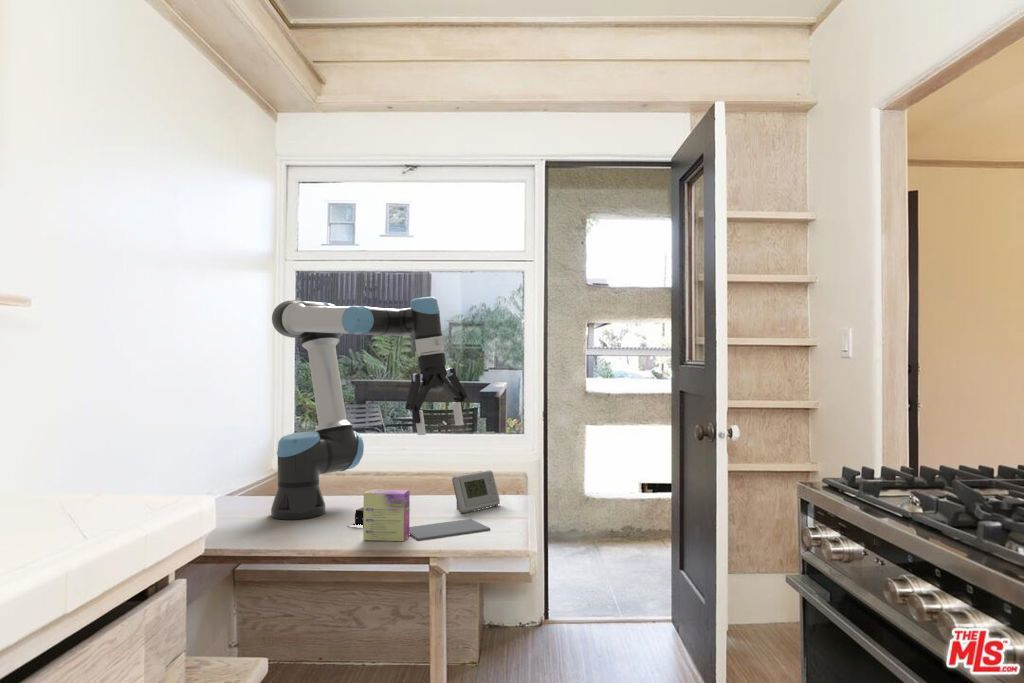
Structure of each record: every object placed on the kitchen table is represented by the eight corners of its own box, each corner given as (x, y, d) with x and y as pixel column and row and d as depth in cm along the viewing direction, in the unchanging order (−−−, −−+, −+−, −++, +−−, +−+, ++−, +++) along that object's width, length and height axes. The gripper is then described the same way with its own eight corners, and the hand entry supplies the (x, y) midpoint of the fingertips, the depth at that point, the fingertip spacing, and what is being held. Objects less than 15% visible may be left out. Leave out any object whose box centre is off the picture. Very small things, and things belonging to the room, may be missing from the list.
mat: (401, 529, 175) (401, 527, 175) (470, 520, 184) (470, 518, 184) (417, 540, 164) (417, 538, 164) (490, 530, 174) (490, 528, 174)
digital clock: (460, 515, 191) (459, 477, 192) (444, 509, 199) (444, 473, 199) (506, 507, 201) (506, 472, 201) (490, 502, 208) (490, 468, 208)
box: (410, 535, 169) (409, 489, 169) (404, 541, 163) (404, 493, 163) (370, 535, 170) (370, 488, 170) (363, 541, 164) (362, 493, 164)
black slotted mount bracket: (361, 532, 175) (361, 515, 175) (338, 530, 177) (338, 512, 177) (387, 521, 186) (387, 505, 186) (365, 519, 189) (365, 503, 189)
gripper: (402, 357, 171) (413, 439, 171) (473, 347, 189) (482, 421, 189) (385, 359, 176) (396, 438, 176) (455, 349, 194) (465, 421, 194)
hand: (441, 430), depth 183 cm, fingers open, 13 cm apart
